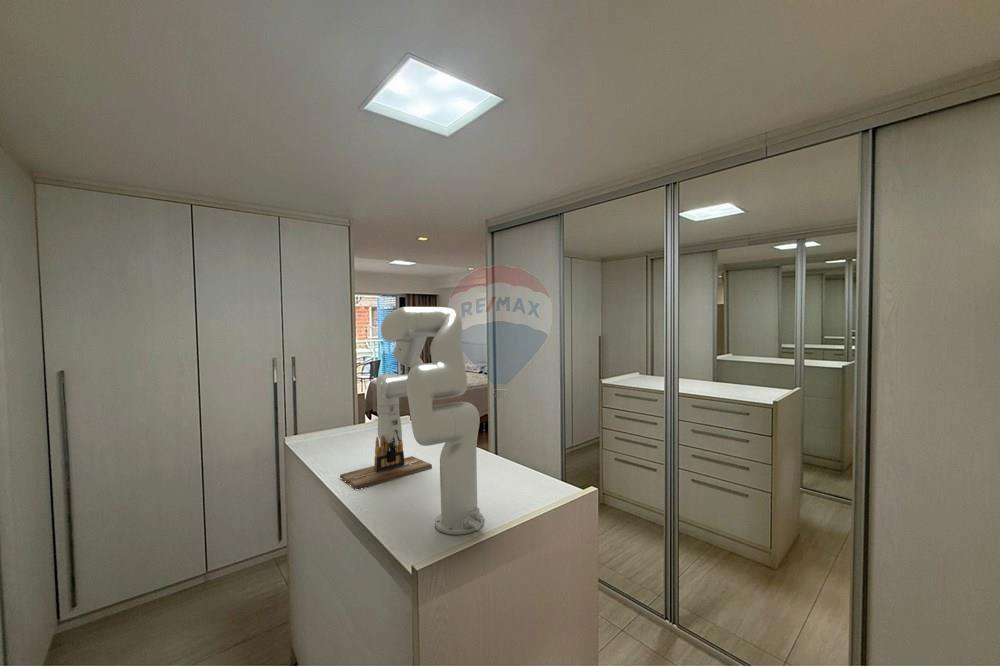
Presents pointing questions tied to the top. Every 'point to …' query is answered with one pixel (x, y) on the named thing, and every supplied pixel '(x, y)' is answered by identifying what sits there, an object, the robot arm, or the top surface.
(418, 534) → the top surface
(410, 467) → the walnut board
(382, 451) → the ammunition clip
